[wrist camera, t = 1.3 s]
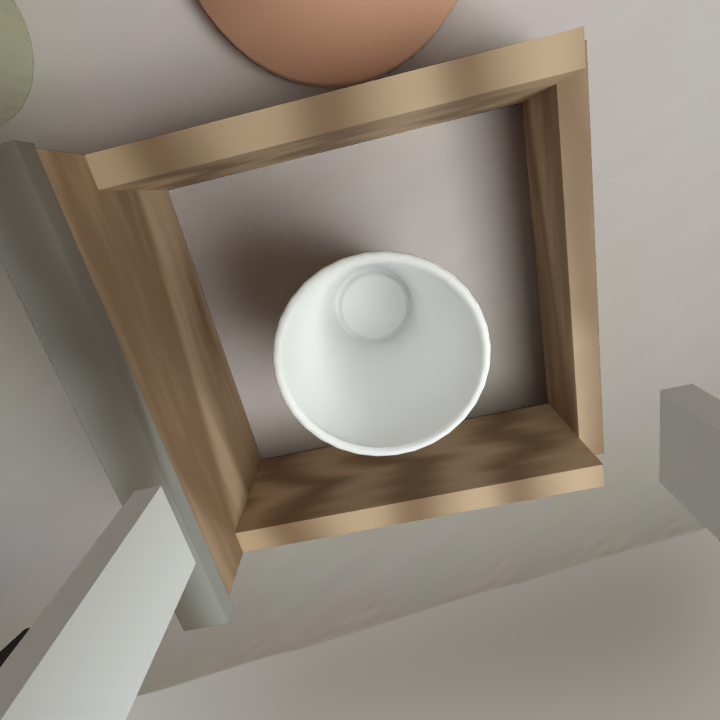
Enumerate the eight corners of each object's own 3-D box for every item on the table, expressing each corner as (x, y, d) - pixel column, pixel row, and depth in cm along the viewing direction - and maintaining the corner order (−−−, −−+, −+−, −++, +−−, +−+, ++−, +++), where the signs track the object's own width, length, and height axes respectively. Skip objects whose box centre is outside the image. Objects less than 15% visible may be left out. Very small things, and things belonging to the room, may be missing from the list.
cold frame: (243, 480, 36) (183, 630, 23) (128, 172, 28) (-50, 157, 16) (569, 416, 34) (689, 543, 22) (545, 67, 26) (710, -43, 14)
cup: (277, 262, 30) (234, 299, 19) (421, 206, 29) (457, 215, 18) (332, 391, 33) (321, 482, 23) (464, 346, 32) (514, 420, 22)
